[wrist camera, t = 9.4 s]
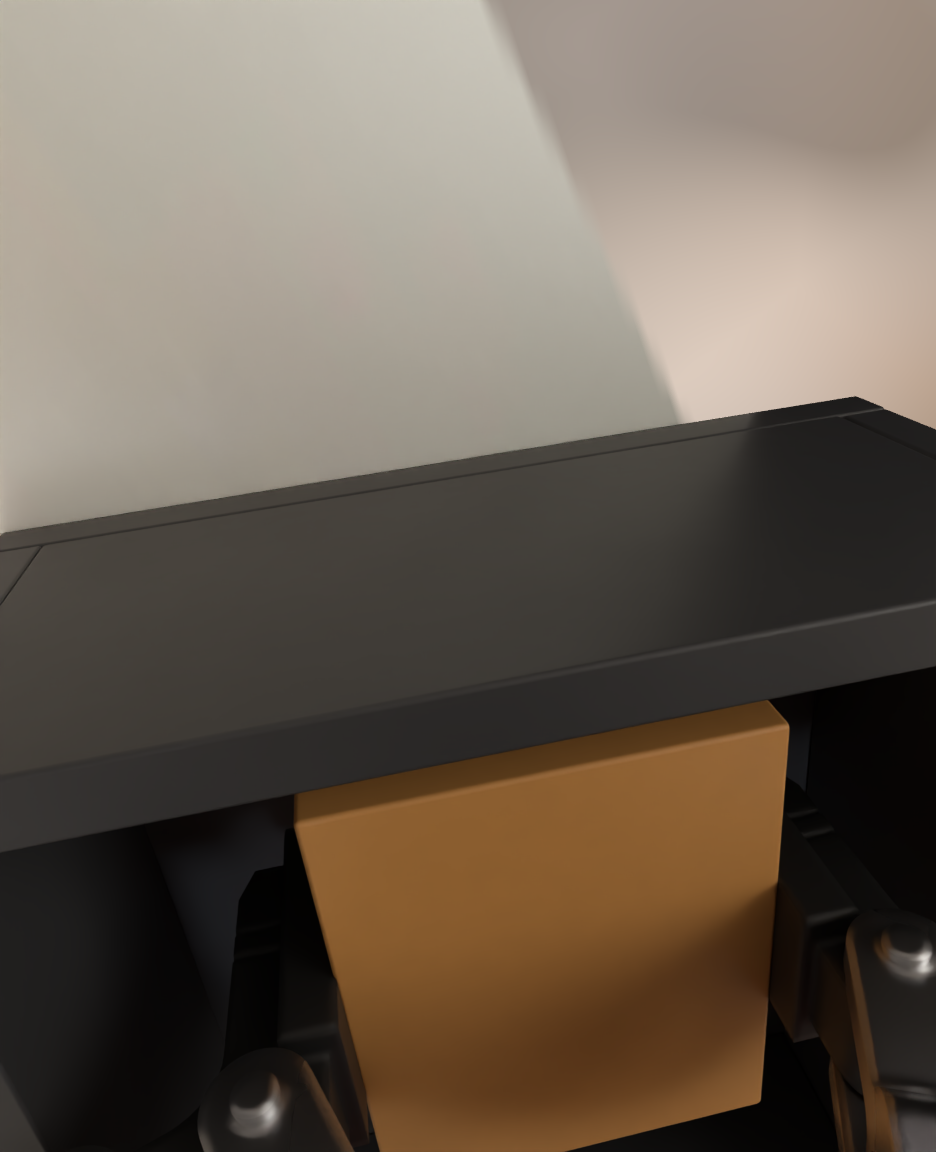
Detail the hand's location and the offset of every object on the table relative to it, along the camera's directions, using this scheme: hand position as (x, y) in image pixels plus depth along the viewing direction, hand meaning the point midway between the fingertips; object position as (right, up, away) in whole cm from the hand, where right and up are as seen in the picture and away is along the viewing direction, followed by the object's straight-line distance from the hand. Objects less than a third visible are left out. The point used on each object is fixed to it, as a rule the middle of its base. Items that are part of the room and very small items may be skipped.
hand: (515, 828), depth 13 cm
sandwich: (0, 0, 0) cm, 1 cm away
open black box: (0, -1, +3) cm, 3 cm away
